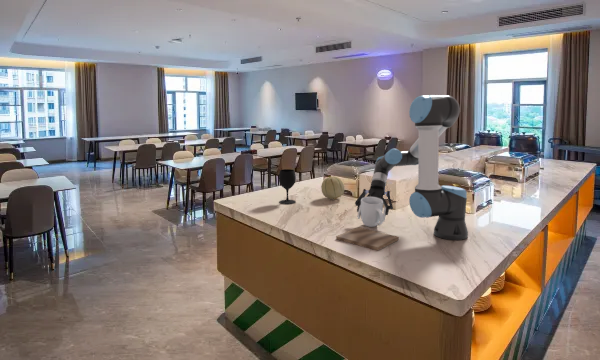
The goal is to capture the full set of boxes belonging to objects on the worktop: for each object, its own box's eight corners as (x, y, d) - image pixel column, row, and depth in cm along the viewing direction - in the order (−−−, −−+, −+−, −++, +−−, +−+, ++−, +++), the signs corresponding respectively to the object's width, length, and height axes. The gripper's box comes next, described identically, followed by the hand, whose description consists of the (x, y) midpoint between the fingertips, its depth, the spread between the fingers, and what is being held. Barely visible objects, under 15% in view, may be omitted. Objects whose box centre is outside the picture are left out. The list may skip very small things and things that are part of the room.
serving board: (398, 239, 193) (398, 236, 193) (377, 250, 180) (377, 247, 180) (358, 230, 208) (358, 227, 207) (336, 239, 194) (336, 236, 194)
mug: (390, 229, 209) (392, 205, 205) (371, 233, 205) (373, 208, 201) (372, 218, 222) (374, 195, 218) (355, 221, 218) (356, 198, 213)
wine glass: (276, 203, 258) (276, 171, 254) (282, 199, 268) (281, 168, 264) (292, 204, 255) (292, 172, 252) (298, 200, 265) (297, 169, 261)
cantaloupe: (343, 202, 261) (343, 178, 258) (319, 201, 264) (319, 177, 261) (345, 196, 275) (345, 174, 272) (323, 195, 278) (323, 173, 275)
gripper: (402, 188, 220) (396, 225, 209) (357, 185, 229) (348, 220, 218) (401, 180, 214) (394, 217, 203) (354, 177, 223) (345, 212, 213)
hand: (370, 218), depth 211 cm, fingers closed on mug, 12 cm apart
